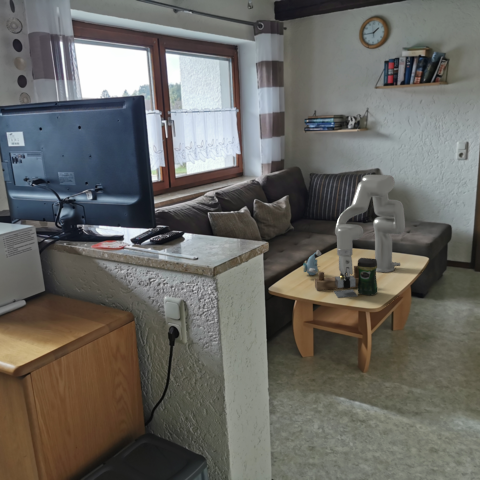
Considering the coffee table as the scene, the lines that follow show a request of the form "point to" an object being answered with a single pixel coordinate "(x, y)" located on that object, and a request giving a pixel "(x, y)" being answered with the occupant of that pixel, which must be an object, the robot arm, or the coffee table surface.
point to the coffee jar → (367, 276)
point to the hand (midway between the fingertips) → (345, 285)
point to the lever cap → (340, 281)
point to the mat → (345, 293)
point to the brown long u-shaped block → (332, 281)
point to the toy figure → (311, 264)
